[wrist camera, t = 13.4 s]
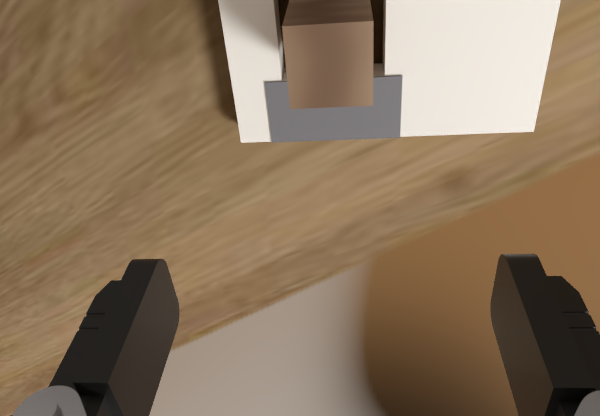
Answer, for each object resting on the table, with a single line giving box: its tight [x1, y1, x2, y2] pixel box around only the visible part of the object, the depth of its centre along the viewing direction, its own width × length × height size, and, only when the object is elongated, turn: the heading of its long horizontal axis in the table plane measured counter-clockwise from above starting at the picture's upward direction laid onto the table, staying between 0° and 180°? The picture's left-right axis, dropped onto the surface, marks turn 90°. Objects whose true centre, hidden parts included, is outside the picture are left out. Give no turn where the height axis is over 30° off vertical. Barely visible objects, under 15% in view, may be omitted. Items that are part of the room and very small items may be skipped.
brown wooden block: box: [282, 0, 374, 109], centre depth 28 cm, size 4×4×8 cm
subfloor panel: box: [218, 0, 561, 143], centre depth 30 cm, size 18×14×2 cm
